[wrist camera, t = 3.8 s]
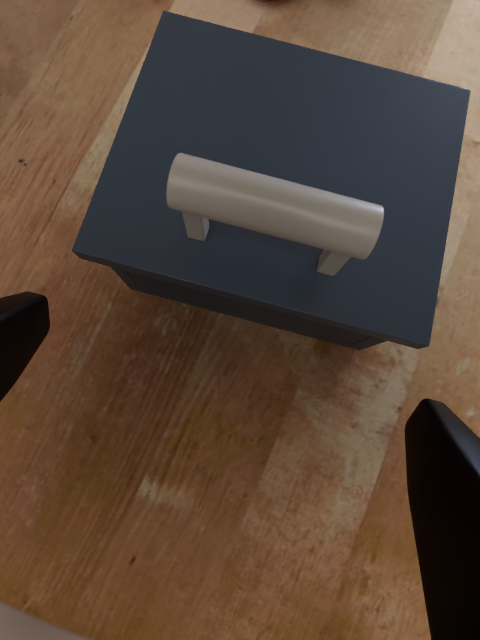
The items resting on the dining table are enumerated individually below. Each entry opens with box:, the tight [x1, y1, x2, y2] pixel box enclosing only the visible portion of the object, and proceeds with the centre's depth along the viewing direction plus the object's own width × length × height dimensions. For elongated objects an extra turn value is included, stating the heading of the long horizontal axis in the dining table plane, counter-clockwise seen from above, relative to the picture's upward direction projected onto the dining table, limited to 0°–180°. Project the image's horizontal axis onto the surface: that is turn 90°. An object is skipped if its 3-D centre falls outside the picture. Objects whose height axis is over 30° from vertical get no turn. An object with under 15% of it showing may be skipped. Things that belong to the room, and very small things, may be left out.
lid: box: [72, 11, 470, 349], centre depth 13 cm, size 11×14×5 cm
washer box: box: [111, 267, 386, 350], centre depth 19 cm, size 11×14×7 cm
